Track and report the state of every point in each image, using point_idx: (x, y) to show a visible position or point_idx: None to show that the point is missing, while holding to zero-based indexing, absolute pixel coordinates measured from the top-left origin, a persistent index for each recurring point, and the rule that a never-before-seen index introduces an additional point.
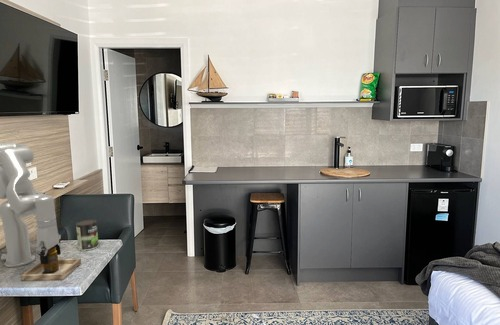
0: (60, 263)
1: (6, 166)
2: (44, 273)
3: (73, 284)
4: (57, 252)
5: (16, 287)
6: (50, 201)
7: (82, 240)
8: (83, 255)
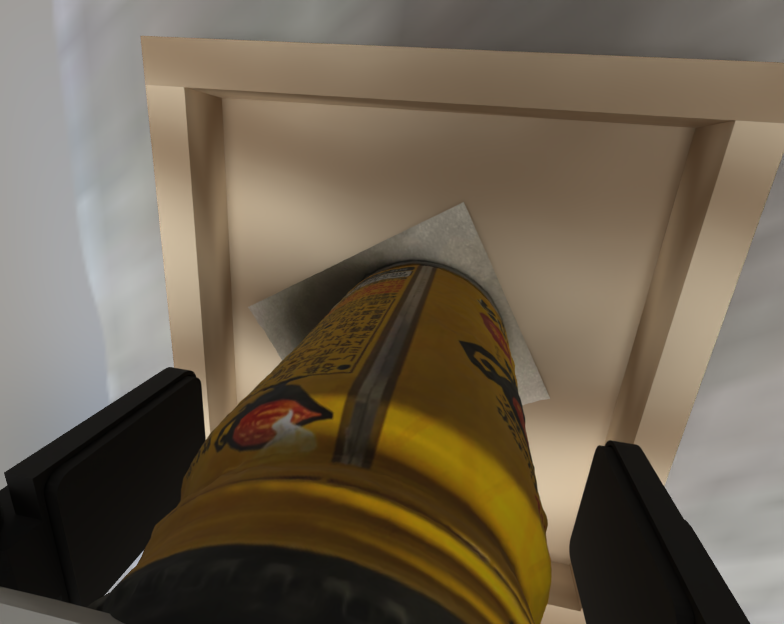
0: (625, 386)
1: None
2: (344, 290)
3: None
4: (589, 560)
5: (65, 102)
6: None
7: None
8: None
